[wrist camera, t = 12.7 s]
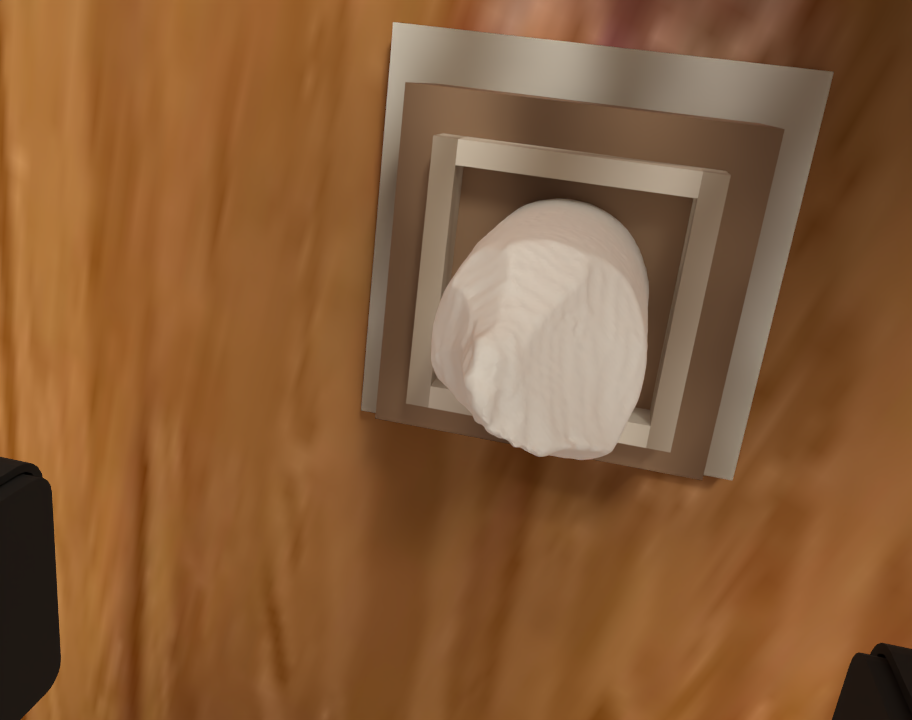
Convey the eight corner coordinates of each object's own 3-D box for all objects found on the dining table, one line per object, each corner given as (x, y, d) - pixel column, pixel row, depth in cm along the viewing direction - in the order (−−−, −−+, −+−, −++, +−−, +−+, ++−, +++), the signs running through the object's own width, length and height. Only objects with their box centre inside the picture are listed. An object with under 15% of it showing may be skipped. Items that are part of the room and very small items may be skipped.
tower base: (826, 72, 30) (886, 66, 23) (729, 468, 35) (753, 563, 28) (401, 24, 33) (335, 5, 26) (369, 400, 38) (306, 472, 31)
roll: (714, 465, 17) (483, 580, 18) (682, 314, 28) (540, 395, 30) (549, 211, 16) (325, 358, 18) (585, 160, 27) (445, 254, 29)
